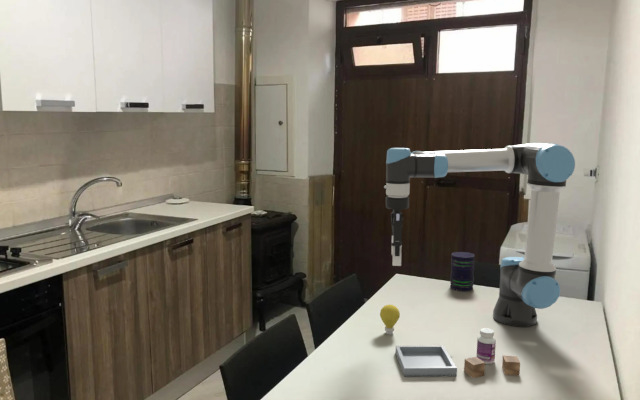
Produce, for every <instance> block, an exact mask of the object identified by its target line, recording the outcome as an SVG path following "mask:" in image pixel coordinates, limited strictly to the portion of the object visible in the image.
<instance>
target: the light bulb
mask: <svg viewBox="0 0 640 400" xmlns="http://www.w3.org/2000/svg"><path fill="white" fill-rule="evenodd" d="M379 315H380V319H381V321H382V323H383V324H384V331H385V334H386V335H393V333H394V331H395V327H394V326H396V324H397V322H398V321H399V319H400V315H401V314H400V310H399V308H398V307H397V306H396V305H393V304H386V305H383V307H382V308H381V309H380V312H379Z"/></svg>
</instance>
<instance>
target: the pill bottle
mask: <svg viewBox="0 0 640 400" xmlns="http://www.w3.org/2000/svg"><path fill="white" fill-rule="evenodd" d="M494 336H495V331H494V330H493V329H492V328H488V327H483V328H480V330H479V335H478V336H477V340H476V357H477V358H479V359H480V360H482V361H483V362H485V365H491V364H493V363H494V362H495V358H496V348H497V347H496V346H497V345H496V344H497V343H496V342H497V341H496V338H495V337H494Z"/></svg>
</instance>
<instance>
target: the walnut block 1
mask: <svg viewBox="0 0 640 400" xmlns="http://www.w3.org/2000/svg"><path fill="white" fill-rule="evenodd" d="M463 364H464V366H463V372H464V373H465V374H467V376H470V377H471V378H472V379H473V378H479V377H484V376H485V374H486V373H485V370H486V364H485V362H483V361H482V360H480V359H479V358H477V356H474V357H469V358H464V362H463Z"/></svg>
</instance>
